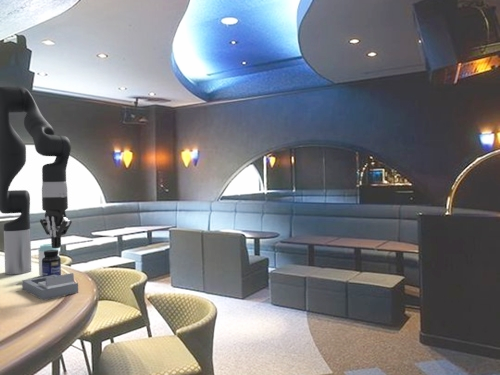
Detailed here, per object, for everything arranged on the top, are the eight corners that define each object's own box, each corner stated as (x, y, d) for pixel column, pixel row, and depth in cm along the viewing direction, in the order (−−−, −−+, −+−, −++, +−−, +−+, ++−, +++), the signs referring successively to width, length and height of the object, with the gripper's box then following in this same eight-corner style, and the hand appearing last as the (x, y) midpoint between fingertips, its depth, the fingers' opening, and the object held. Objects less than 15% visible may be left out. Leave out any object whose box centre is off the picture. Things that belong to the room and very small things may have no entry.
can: (39, 278, 147) (38, 246, 147) (39, 275, 153) (38, 244, 153) (59, 276, 150) (59, 245, 150) (59, 272, 156) (58, 242, 156)
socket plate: (22, 289, 132) (22, 280, 132) (55, 282, 140) (55, 274, 140) (43, 300, 119) (42, 290, 119) (78, 292, 126) (78, 283, 126)
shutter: (38, 284, 125) (37, 274, 125) (64, 280, 131) (63, 270, 131) (47, 289, 120) (47, 278, 120) (74, 283, 125) (73, 273, 125)
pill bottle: (53, 283, 140) (52, 252, 139) (38, 282, 141) (37, 252, 141) (64, 278, 146) (64, 249, 145) (50, 278, 147) (49, 249, 147)
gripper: (31, 196, 128) (32, 248, 129) (58, 196, 123) (60, 251, 123) (51, 194, 135) (53, 244, 136) (78, 195, 129) (79, 247, 130)
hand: (56, 247), depth 129 cm, fingers closed
